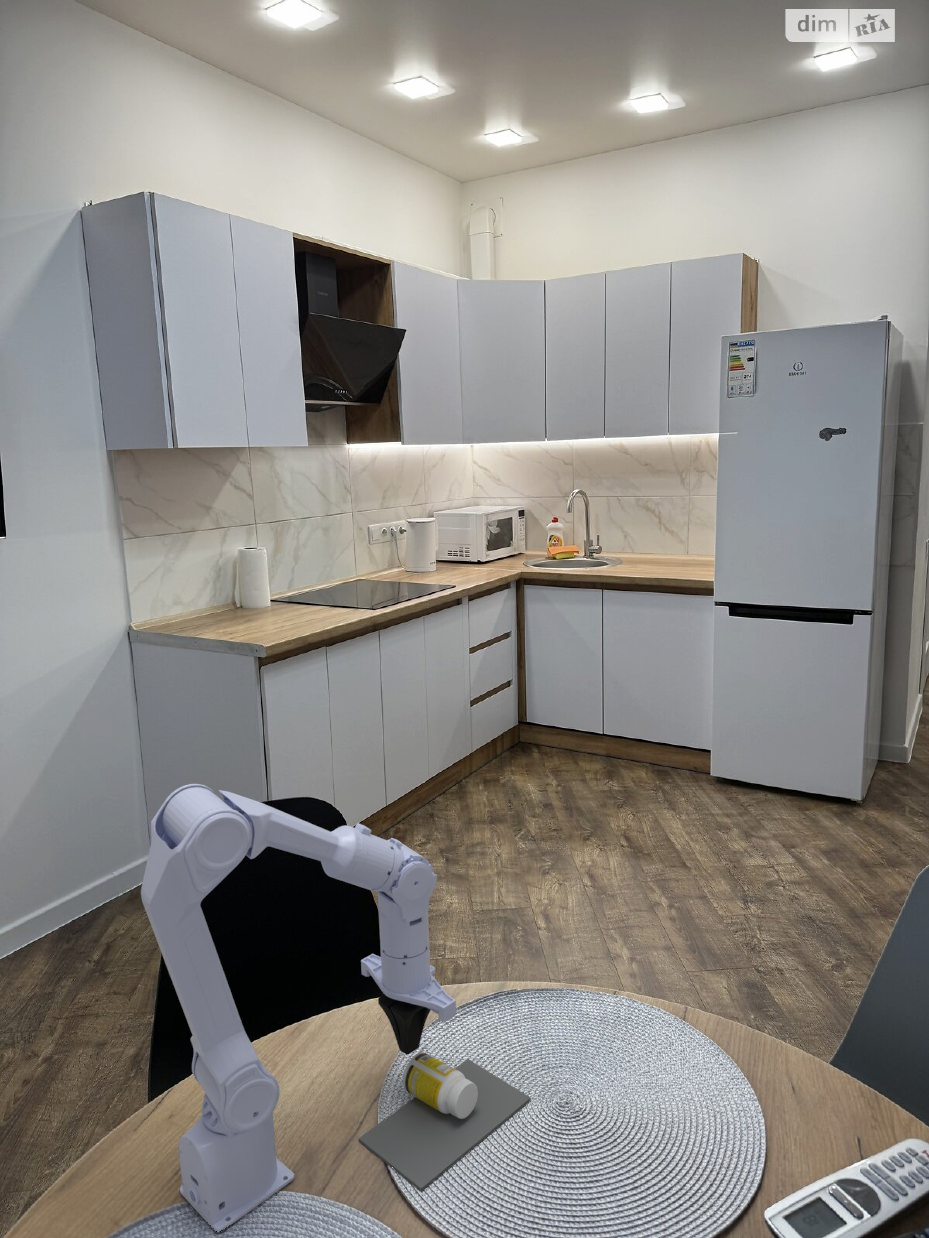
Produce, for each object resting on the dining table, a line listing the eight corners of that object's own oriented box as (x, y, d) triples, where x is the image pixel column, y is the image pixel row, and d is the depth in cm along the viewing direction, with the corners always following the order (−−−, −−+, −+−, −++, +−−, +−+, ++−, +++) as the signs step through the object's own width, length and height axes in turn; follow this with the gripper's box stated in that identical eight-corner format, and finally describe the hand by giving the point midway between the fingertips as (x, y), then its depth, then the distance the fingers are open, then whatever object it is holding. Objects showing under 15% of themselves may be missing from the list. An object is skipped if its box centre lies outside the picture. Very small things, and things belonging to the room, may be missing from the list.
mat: (421, 1191, 94) (421, 1188, 94) (358, 1141, 101) (358, 1138, 101) (530, 1100, 106) (530, 1097, 106) (468, 1061, 114) (468, 1058, 114)
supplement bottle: (408, 1100, 108) (460, 1131, 102) (396, 1075, 106) (448, 1105, 100) (433, 1067, 111) (484, 1096, 105) (421, 1042, 109) (473, 1070, 103)
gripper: (473, 953, 102) (476, 1058, 105) (389, 911, 112) (394, 1008, 114) (429, 980, 97) (433, 1090, 100) (345, 933, 107) (351, 1034, 109)
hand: (409, 1048), depth 107 cm, fingers closed
